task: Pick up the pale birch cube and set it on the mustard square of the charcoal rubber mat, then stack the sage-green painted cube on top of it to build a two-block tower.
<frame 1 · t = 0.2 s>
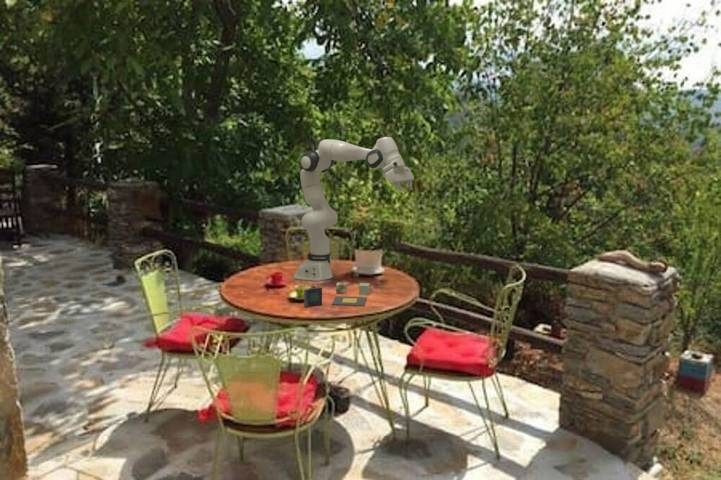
hand: (406, 190, 295), 54 cm above the table, tool tilted 30°, fingers open, 8 cm apart
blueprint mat: (349, 301, 291), on the table
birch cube: (341, 292, 306), on the table
dark blue box: (313, 306, 285), on the table
sage cube: (364, 293, 305), on the table
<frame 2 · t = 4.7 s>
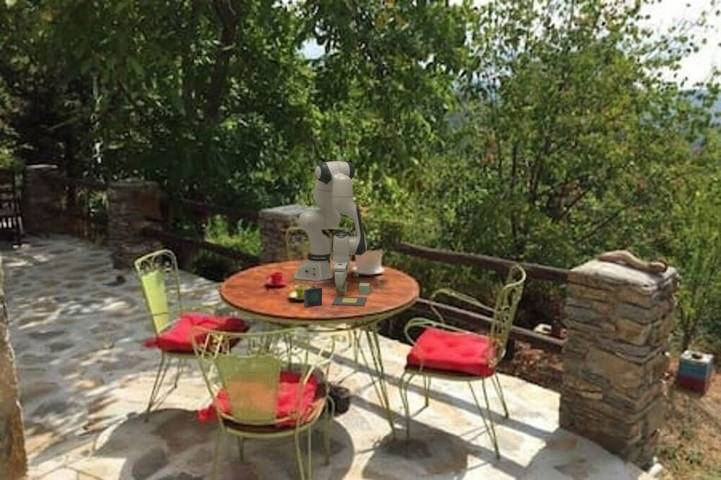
hand: (341, 289, 306), 2 cm above the table, tool pointing down, fingers closed on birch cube, 5 cm apart
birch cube: (341, 292, 306), on the table, touching gripper
everything else where it was.
when the fingers open (4 cm above the table, at t = 9.7 s): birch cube drops 1 cm, resting on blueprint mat.
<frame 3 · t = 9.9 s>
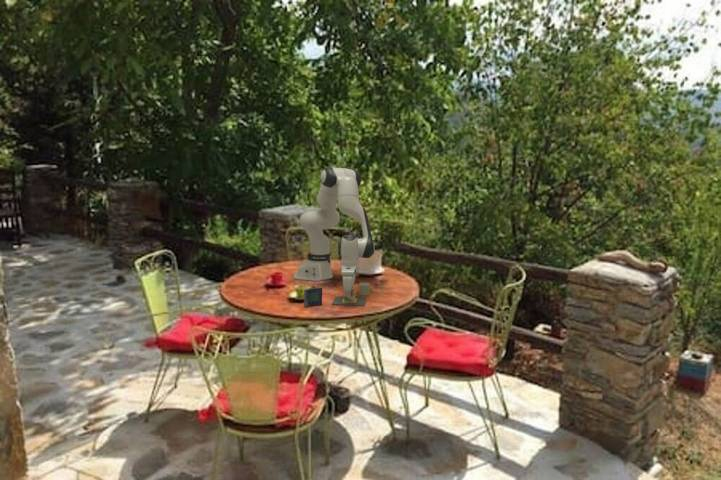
hand: (349, 294, 290), 4 cm above the table, tool pointing down, fingers open, 7 cm apart
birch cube: (349, 300, 291), point 1 cm above the table, touching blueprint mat
everything else where it was.
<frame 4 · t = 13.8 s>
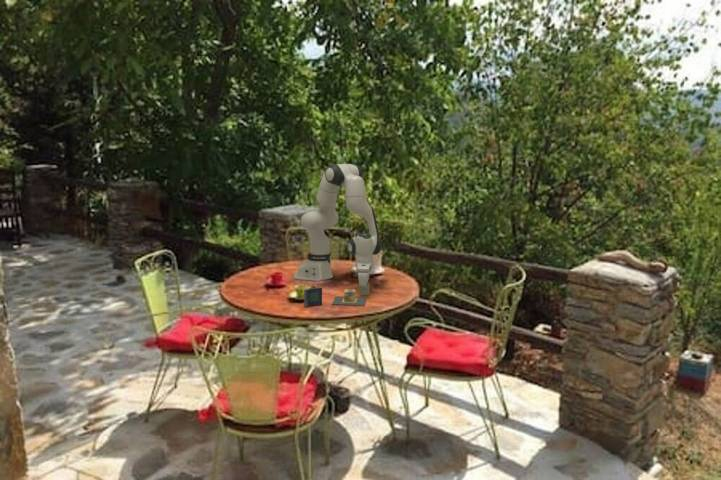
hand: (364, 290, 305), 2 cm above the table, tool pointing down, fingers closed on sage cube, 5 cm apart
sage cube: (364, 293, 305), on the table, touching gripper
everything else where it was.
when the fingers open (8 cm above the table, at t = 19.0 s): sage cube stays where it is, resting on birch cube.
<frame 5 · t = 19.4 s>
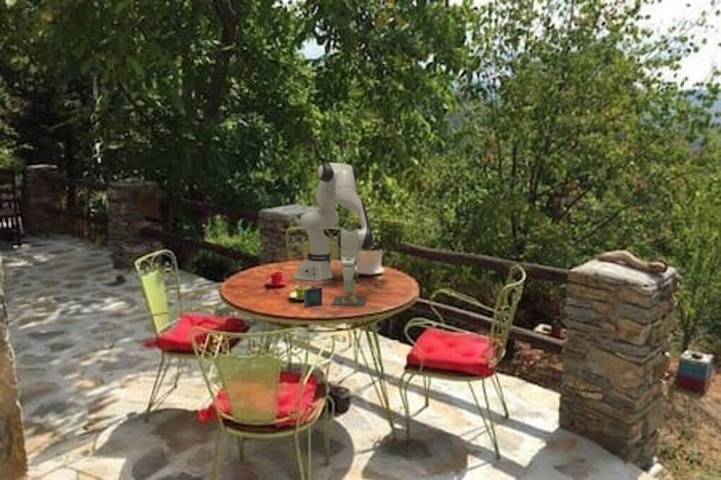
hand: (349, 286, 289), 8 cm above the table, tool pointing down, fingers open, 8 cm apart
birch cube: (349, 300, 291), point 1 cm above the table, touching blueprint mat, sage cube
sage cube: (349, 290, 290), point 6 cm above the table, touching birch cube
everything else where it was.
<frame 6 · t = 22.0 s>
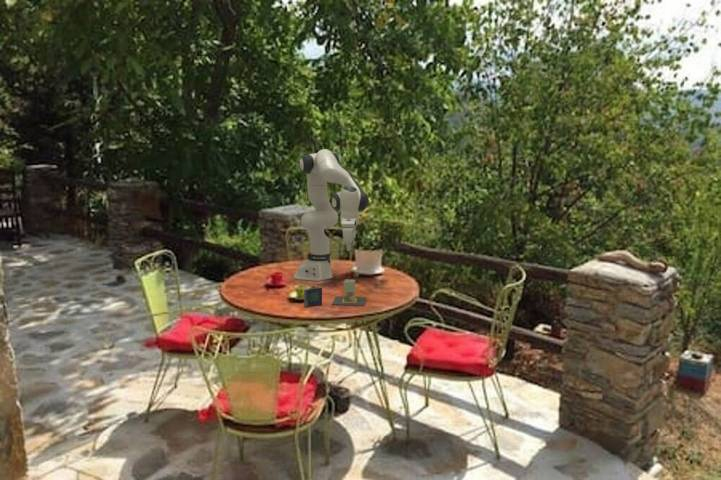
hand: (349, 248, 286), 27 cm above the table, tool pointing down, fingers open, 8 cm apart
nothing on the table moved.
at the end: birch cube 0.0 cm off-centre on the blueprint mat, point 0.7 cm above the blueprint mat's base; sage cube 0.1 cm off-centre on the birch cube, point 5.0 cm above the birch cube's base; sage cube tilted 0° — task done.
